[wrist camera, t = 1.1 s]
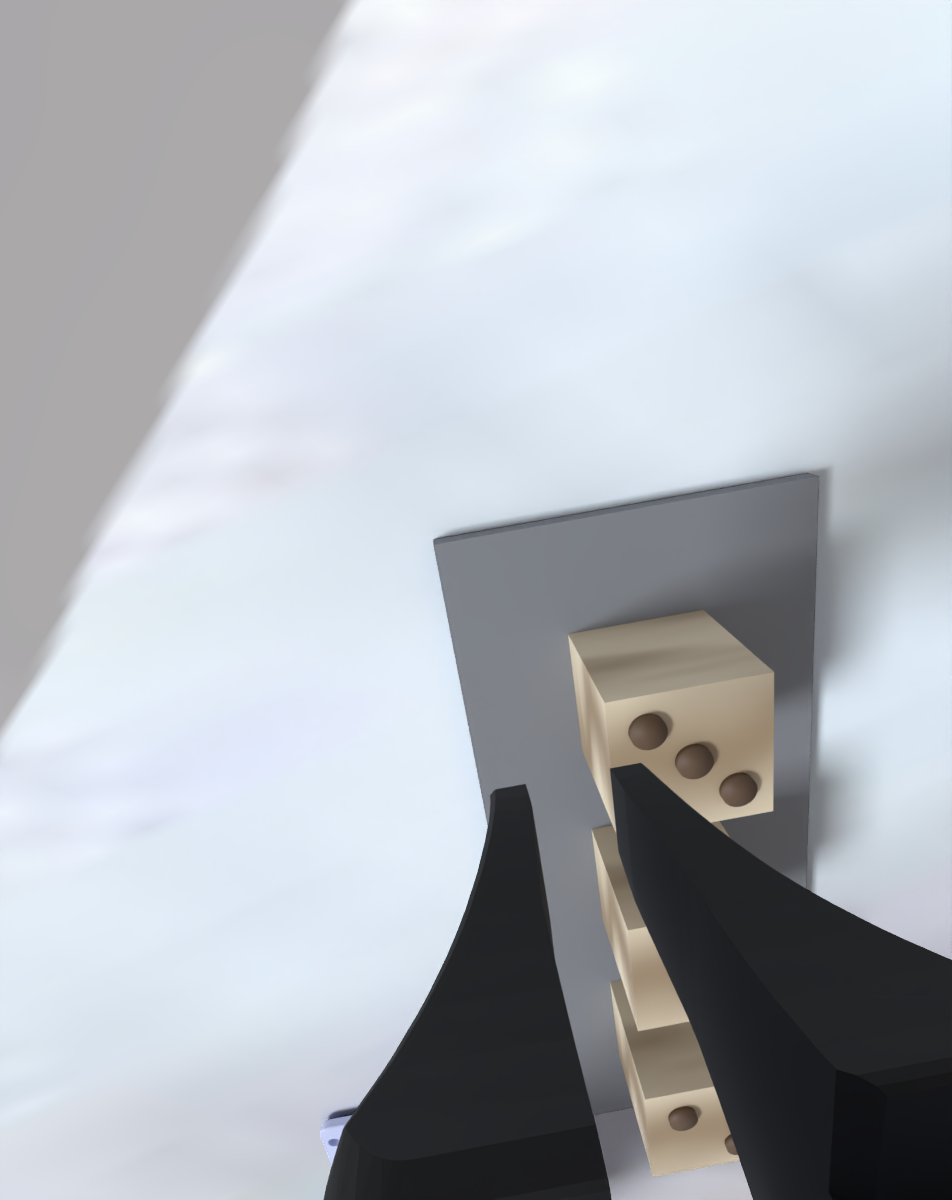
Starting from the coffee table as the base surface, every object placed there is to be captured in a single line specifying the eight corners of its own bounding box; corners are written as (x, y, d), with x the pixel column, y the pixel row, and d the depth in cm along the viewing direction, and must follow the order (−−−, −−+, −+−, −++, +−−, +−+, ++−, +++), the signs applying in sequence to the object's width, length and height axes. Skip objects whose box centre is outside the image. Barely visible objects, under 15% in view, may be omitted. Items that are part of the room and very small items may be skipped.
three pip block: (707, 727, 22) (777, 816, 18) (581, 750, 22) (620, 844, 18) (703, 609, 21) (778, 675, 16) (568, 634, 21) (606, 706, 16)
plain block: (713, 898, 25) (771, 1005, 21) (602, 919, 25) (638, 1031, 21) (710, 807, 24) (772, 903, 19) (591, 828, 23) (627, 930, 19)
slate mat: (793, 1062, 30) (800, 1075, 29) (543, 1109, 30) (545, 1124, 29) (807, 472, 20) (818, 476, 19) (433, 539, 20) (433, 544, 19)
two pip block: (718, 1035, 28) (773, 1161, 24) (618, 1054, 28) (654, 1183, 23) (716, 962, 26) (774, 1081, 22) (610, 982, 26) (647, 1105, 22)
